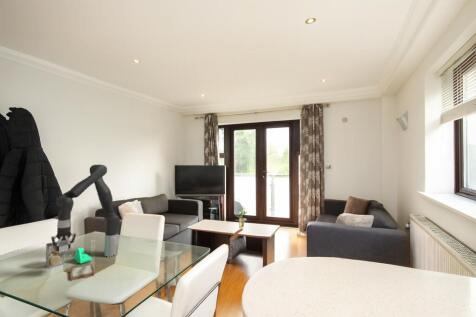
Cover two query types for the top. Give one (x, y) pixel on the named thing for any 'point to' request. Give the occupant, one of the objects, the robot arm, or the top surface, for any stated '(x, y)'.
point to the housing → (63, 247)
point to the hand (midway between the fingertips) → (63, 249)
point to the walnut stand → (81, 272)
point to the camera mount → (81, 256)
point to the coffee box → (53, 256)
